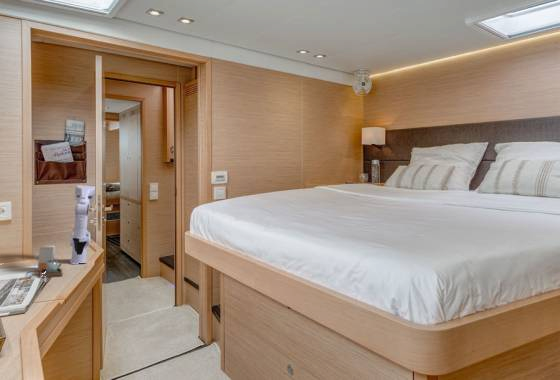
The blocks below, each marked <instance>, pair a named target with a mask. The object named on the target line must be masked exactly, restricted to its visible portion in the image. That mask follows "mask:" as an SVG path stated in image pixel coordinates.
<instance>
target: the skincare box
mask: <svg viewBox="0 0 560 380" xmlns="http://www.w3.org/2000/svg"><path fill="white" fill-rule="evenodd" d="M55 250H56V245H41V246H39V250H38V260H37V261H38V262H37V270H39V271H40V269H46V262H47V261H49V260H55Z"/></svg>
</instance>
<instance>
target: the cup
mask: <svg viewBox="0 0 560 380" xmlns="http://www.w3.org/2000/svg"><path fill="white" fill-rule="evenodd" d="M58 265H59V260H56V259H54V260H49V261H47V262H46V273H57V268H58ZM46 273H45V274H46Z"/></svg>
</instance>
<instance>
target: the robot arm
mask: <svg viewBox="0 0 560 380" xmlns="http://www.w3.org/2000/svg"><path fill="white" fill-rule="evenodd" d="M95 190H96V187H95V185H92V186H91V185H81V184H80V185H79V184H76V185H75V190H74V191H75V192H74V194H75V195H74V196H75V197H74V198H75V201H76V204H75V206H74V229H73V231H71V235H70V242H69V245H70V247H71V248H72V251H71V259H69V262H70V265H80V264H79V263H83V262H85V261H87V251H88V247H90V246H91V232H90V231H88V221H89V219H88V218H89V215H90V209H91V208H90V207H91V206H90V202H93V201H94V199H95Z"/></svg>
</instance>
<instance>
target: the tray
mask: <svg viewBox="0 0 560 380" xmlns="http://www.w3.org/2000/svg"><path fill="white" fill-rule="evenodd" d="M45 271H46V269H40V270H39V276H40V275H41V276H42V275H43V276H47V277H46V278H59V277H60V278H61V277H63V274H64V273H63V270H62V268H61V267H57V273H46V274H42V273H44V272H45Z"/></svg>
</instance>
